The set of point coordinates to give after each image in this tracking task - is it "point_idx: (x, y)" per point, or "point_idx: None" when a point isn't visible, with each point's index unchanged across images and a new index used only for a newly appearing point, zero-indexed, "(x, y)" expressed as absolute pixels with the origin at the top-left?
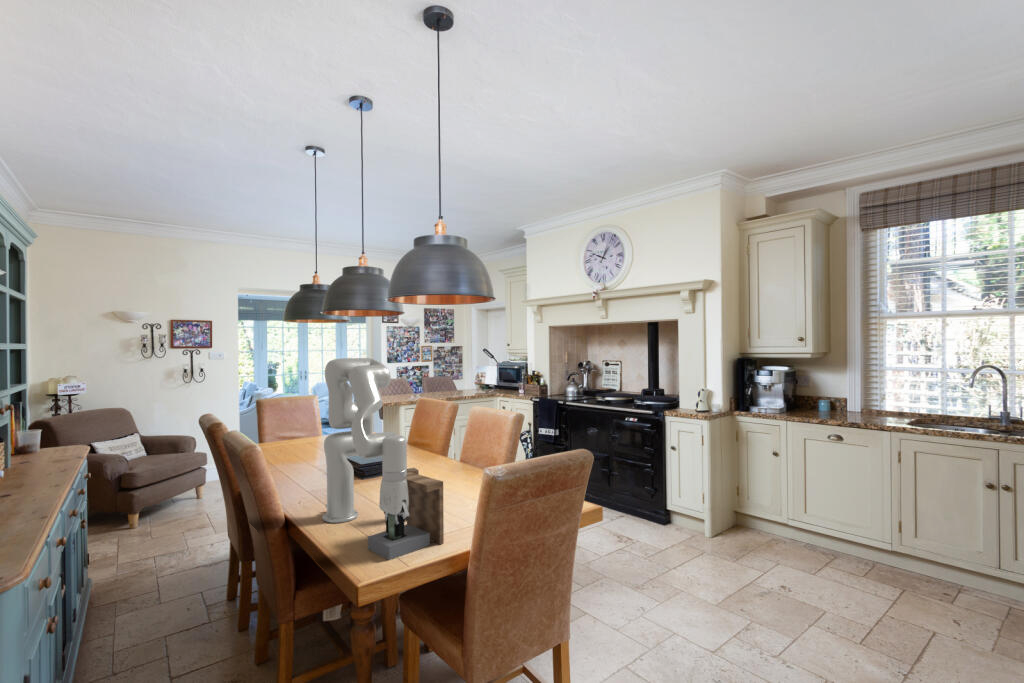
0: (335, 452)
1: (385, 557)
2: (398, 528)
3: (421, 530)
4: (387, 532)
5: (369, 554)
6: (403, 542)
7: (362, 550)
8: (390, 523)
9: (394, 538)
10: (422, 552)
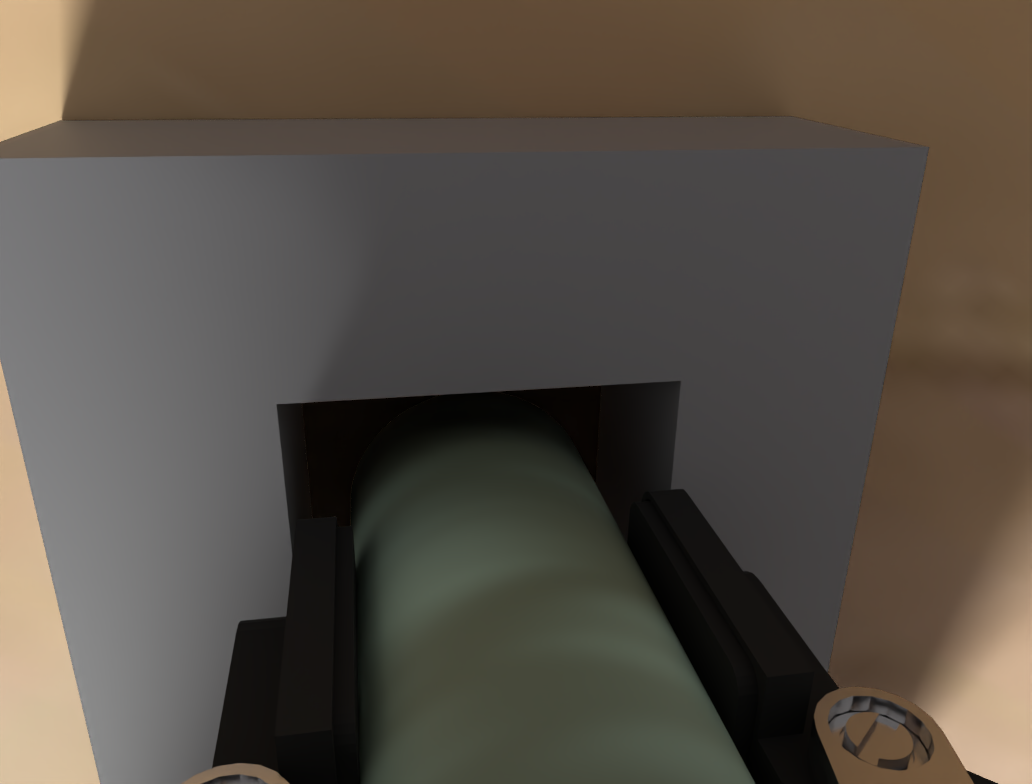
0: None
1: (204, 121)
2: (247, 706)
3: None
4: (640, 503)
5: (587, 5)
6: (47, 534)
7: (834, 20)
8: (506, 670)
9: (374, 497)
10: (17, 665)
